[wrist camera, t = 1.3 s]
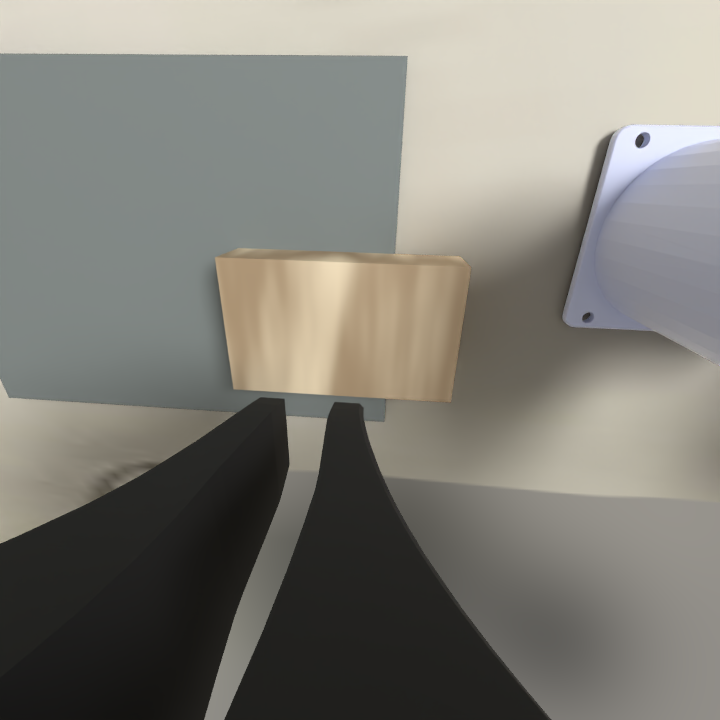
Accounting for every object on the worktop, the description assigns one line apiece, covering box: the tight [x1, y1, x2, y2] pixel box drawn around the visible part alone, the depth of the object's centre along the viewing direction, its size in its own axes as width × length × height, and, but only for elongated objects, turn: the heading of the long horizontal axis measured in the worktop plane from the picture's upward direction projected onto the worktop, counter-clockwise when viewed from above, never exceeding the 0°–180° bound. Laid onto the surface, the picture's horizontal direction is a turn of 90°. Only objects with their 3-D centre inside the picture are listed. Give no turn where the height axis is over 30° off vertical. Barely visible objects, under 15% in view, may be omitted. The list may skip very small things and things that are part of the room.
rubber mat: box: [0, 54, 408, 422], centre depth 18 cm, size 22×16×1 cm
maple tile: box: [215, 248, 471, 403], centre depth 17 cm, size 2×6×10 cm
